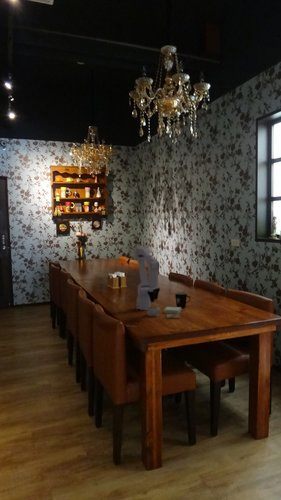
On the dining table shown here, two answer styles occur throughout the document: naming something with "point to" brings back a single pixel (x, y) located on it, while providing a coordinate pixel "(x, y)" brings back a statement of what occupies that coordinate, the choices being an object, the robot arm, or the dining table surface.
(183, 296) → the coffee mug
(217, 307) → the dining table surface
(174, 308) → the grey green square tray
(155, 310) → the block
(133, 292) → the dining table surface
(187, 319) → the dining table surface
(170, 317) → the plate
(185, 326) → the dining table surface
